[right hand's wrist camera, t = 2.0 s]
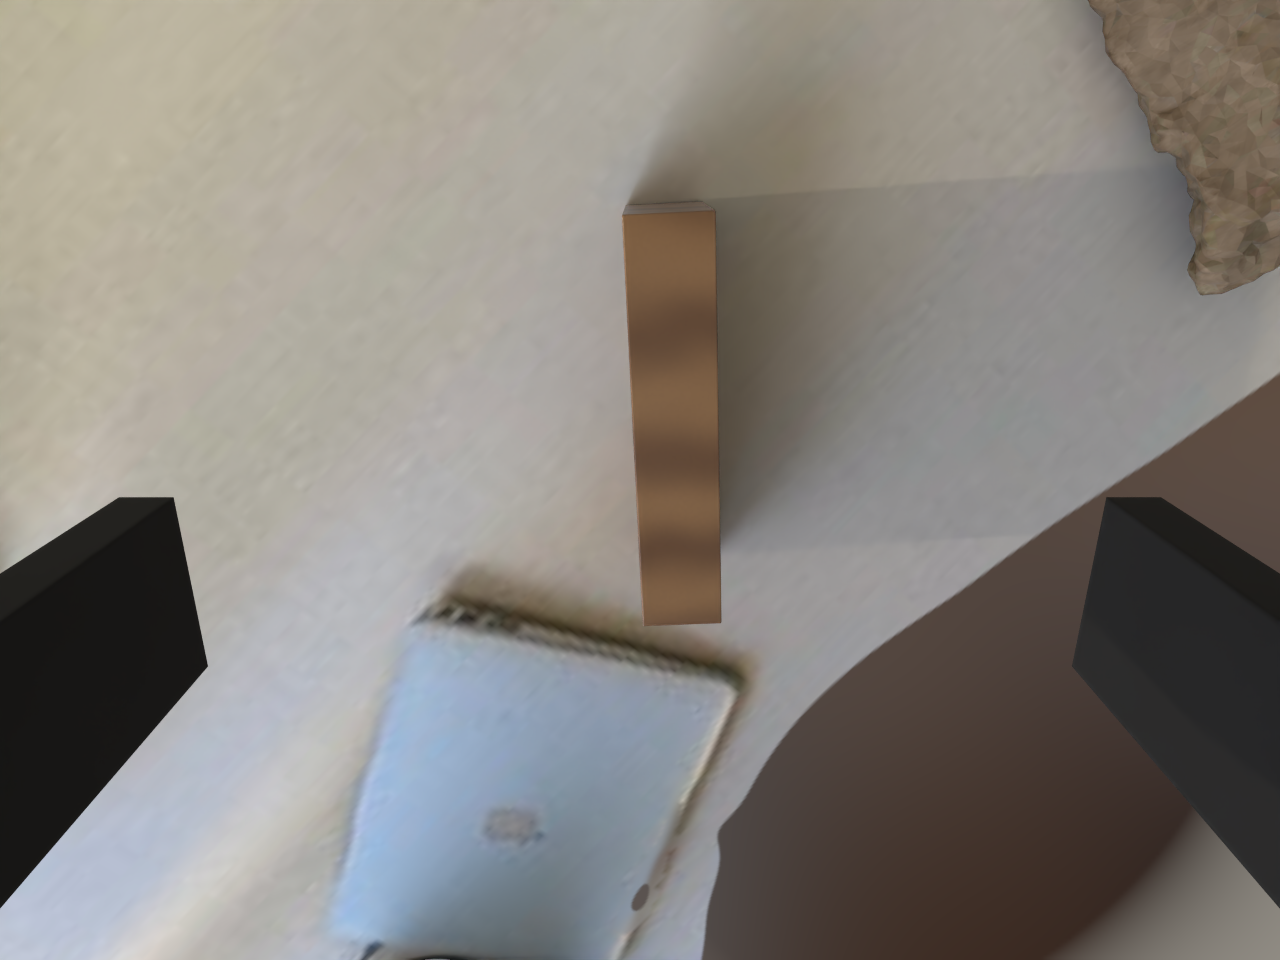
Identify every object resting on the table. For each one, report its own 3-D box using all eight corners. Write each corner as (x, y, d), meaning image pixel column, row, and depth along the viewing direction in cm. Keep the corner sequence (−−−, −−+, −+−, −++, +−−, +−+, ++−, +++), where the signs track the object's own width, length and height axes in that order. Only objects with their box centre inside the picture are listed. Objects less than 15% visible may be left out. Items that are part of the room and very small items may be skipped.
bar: (625, 205, 50) (621, 214, 41) (703, 201, 49) (715, 210, 41) (642, 557, 57) (642, 626, 49) (709, 555, 57) (721, 623, 49)
